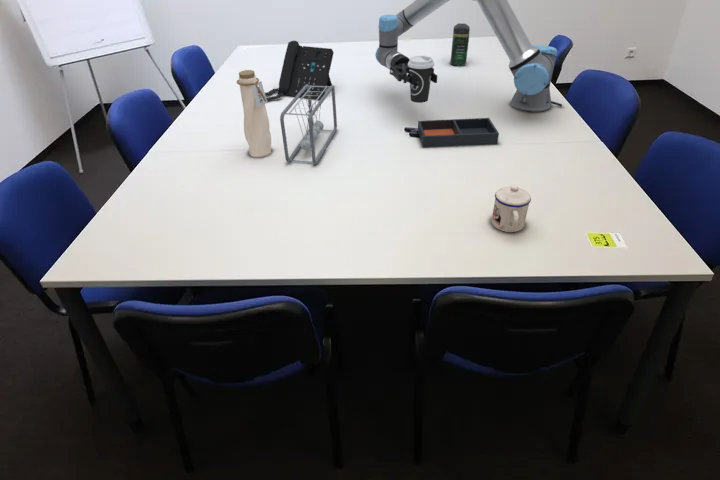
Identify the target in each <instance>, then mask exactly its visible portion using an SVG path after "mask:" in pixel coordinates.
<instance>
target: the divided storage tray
mask: <svg viewBox="0 0 720 480" xmlns="http://www.w3.org/2000/svg"><path fill="white" fill-rule="evenodd" d="M418 130H419V131H418ZM417 134H418V137H419V140H420V142H421V146H422V148H438V147H441V148H442V147H460V146H461V147H464V146H465V147H466V146H485V145H498V142H499V135H500V133H499V131H498V128H496V126H495V124H494V123H493V121H492V120H491V118H490V117H477V118H475V117H474V118H452V119H429V120H417Z"/></svg>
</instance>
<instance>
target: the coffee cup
mask: <svg viewBox="0 0 720 480" xmlns="http://www.w3.org/2000/svg"><path fill="white" fill-rule="evenodd" d="M409 59H410V61H409V62H408V66H409V74H410V75H411V76H414V77H415V78H417V79H418V81H417V87H415V86H413V85H412V84H410V83H409V91H410V92H409V93H410V101H411V102H412V103H417V104H422V103H427V102H428V101H429V96H430V89H431V82H432V81H431V75H432V69H433V67H435V62H434V60H433V57H431V56H428V55H415V56H412V57H410V58H409Z"/></svg>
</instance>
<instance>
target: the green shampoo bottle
mask: <svg viewBox="0 0 720 480" xmlns="http://www.w3.org/2000/svg"><path fill="white" fill-rule="evenodd" d="M470 31H471V29H470V26H469V25H468V24H467V23H462V22H461V23H457V24H455V25H454V26H453V31H452V42H451V53H450V64H451V66H456V67H461V66H465V65H467V60H468V49H469V43H470Z"/></svg>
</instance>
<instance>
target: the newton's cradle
mask: <svg viewBox="0 0 720 480" xmlns="http://www.w3.org/2000/svg"><path fill="white" fill-rule="evenodd" d="M311 87H325V89H324V90H323V91H322V93H323V92H324V91H325V94H324V95H323V97H322V93H321V94H320V95H319V97H320V96H321V100H319V97H318V98H317V99H314V102H312V101H313V100H312V98H311V95H310V92H313V91H310V89H311ZM306 89H307V92H306V93H307V95H306V93H305V94H304V95H303V96H302V97H300V96H301V95H302V93H303V92H304V91H305V90H306ZM326 89H327V90H326ZM330 93H331V101H332V116H333V129H324V122H322V121H321V120H318V119H320V117H321V113H319V115H318V116H317V114H316V113H317V112H318V111H319V110H318V109H321V108H322V107H321V106H322V104H323V103H324V101H325V100H326V98H327V97H328V96H329V95H330ZM304 96H305V97H306V96H308V98H305V97H304ZM305 100H306V105H307V108H305V103H304V101H305ZM300 102H302V106H303V107H300ZM336 103H337V102H336V90H335V86H334V85H333V84H332V85H331V86H309V85H308V84H306V85H305V86H304V87H303V88H302V89H301V91H300V92H299V93H298V94H297V95H296V96H294V97H293V99H292V100H291V101H290V102H289V103H288V105H287V106H285V108H284V109H283V110H282V111H281V112H280V116H279V123H280V129H281V135H282V143H283V150H284V151H283V152H284V157H285V162H286V163H289V164H290V163H291V162H296V163H297V162H298V163H299V162H300V163H309V164H311V163H312V164H313V165H314V166H315V165H317V164H318V163H319V161H320V159H322V156H323V155H324V153H325V151H326V149H327V148H328V146H329V144H330V143H331V141H332V139H333V137H334V136H335V134H336V132H337V130H338V129H337V128H338V121H337V105H336ZM294 104H295V105H294ZM297 106H298V109H299V111H300V113H297V109H296V108H297ZM290 109H291V110H290ZM301 109H304V112H305V113H302V110H301ZM293 110H294V111H295V113H292V112H293ZM306 110H307V111H306ZM288 111H289V112H288ZM285 115H289V116H290V115H291V116H296V119H297V120H298V125H299V128H300V130H301V134H302V139H301V140H300V141H299V143H298V144H297V146H296V148H295V149H294V150H293V151H292V153H291V155H289V148H288V142H287V134H286V126H285ZM298 116H301V118H302V122H303V125H304V128H305V132H306V133H305V134H304V133H303V129H302V126H301V123H300V120H299V117H298ZM303 116H306V118H307V125H306V124H305V123H306V122H305V121H304V117H303ZM314 117H315V120H314ZM321 131H322V132H331V133H330V135H328V138H327V140H326V142H324V144H323V146H322V148H321V150H320V152H319V153H318V154H317V156H316V149H315V148H316V147H315V141H316V140H317V139H318V136H319V135H320V134H321ZM300 149H302V150H303V151H309V150H310V151H311V160H312V161H311V160H297V159H294V158H295V156H296V155H297V153H298V152H299V150H300Z"/></svg>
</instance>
